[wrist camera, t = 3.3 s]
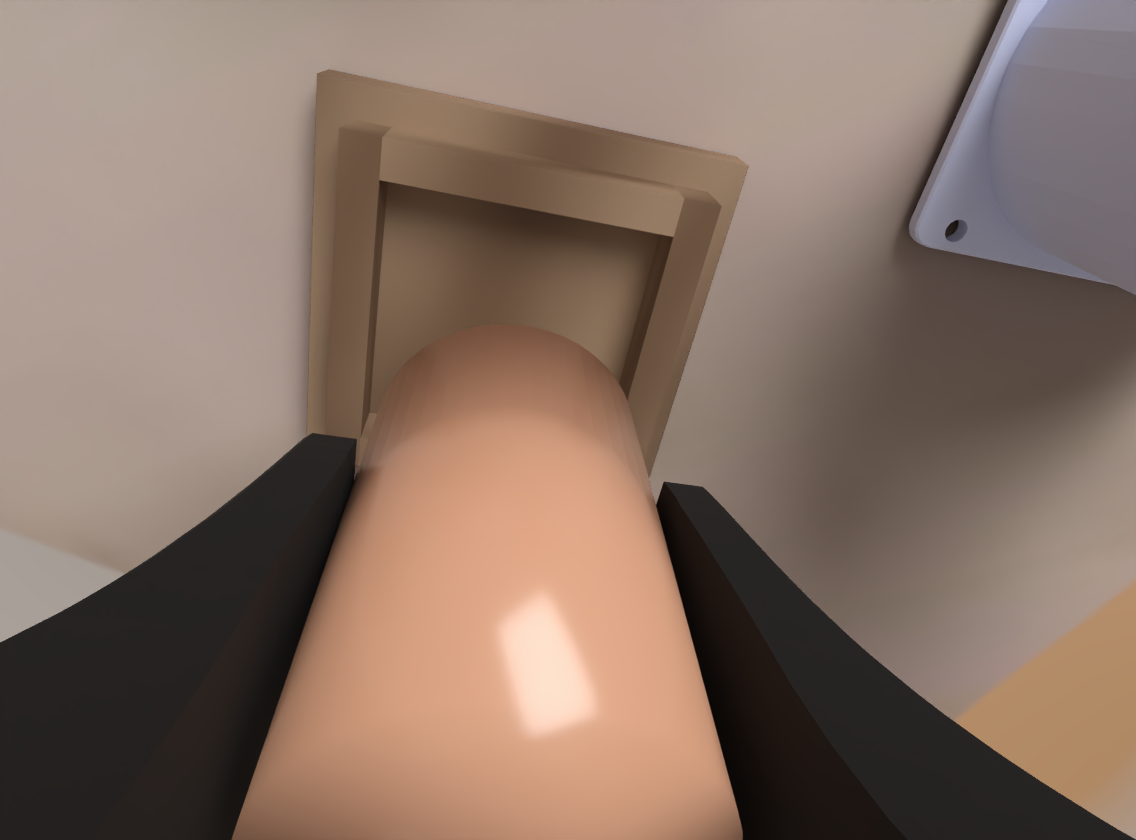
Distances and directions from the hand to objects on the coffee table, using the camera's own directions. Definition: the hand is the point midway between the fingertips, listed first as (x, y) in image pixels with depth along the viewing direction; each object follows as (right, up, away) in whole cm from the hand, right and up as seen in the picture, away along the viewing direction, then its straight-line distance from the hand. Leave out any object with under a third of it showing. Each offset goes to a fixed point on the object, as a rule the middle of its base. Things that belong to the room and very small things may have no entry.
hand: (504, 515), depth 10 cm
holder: (-1, +4, +7) cm, 8 cm away
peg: (0, +1, +2) cm, 2 cm away
